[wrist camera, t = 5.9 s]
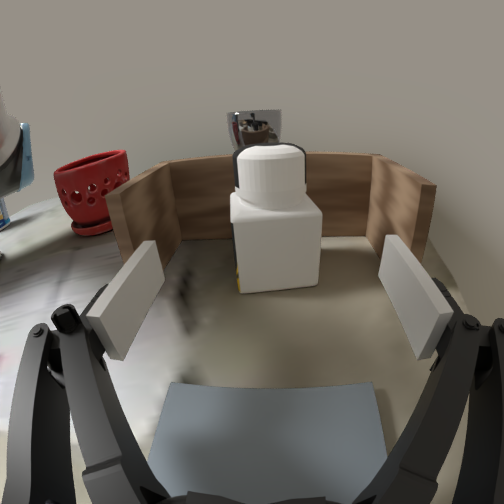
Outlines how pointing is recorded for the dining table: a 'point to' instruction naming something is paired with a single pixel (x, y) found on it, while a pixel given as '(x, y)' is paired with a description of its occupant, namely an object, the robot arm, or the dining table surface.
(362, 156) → the walnut bay
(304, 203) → the medicine bottle
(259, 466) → the grey pad
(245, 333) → the dining table surface
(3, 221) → the beverage bottle
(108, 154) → the plant pot
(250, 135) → the wine glass
